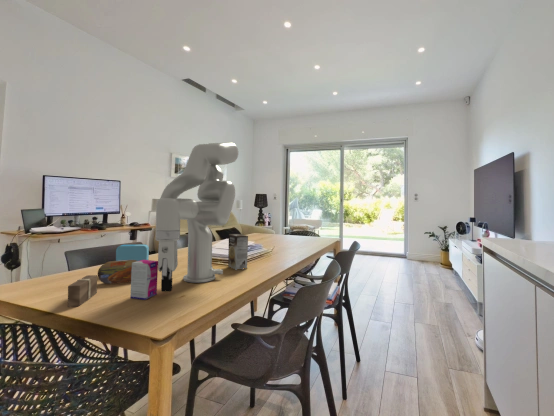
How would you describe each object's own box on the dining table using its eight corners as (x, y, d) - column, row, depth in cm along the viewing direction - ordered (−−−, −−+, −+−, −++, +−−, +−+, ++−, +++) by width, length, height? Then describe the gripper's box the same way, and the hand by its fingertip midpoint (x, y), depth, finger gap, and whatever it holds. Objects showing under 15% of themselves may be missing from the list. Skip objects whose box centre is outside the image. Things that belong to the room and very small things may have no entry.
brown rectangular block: (97, 293, 91) (97, 274, 91) (80, 306, 79) (80, 284, 79) (86, 293, 90) (86, 274, 90) (67, 306, 78) (67, 285, 78)
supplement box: (146, 300, 85) (146, 263, 85) (129, 298, 86) (130, 262, 86) (157, 294, 91) (158, 260, 91) (142, 292, 92) (142, 259, 92)
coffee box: (227, 266, 134) (228, 234, 134) (239, 265, 138) (240, 233, 138) (235, 270, 127) (236, 236, 127) (247, 269, 130) (248, 235, 130)
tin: (97, 285, 99) (97, 262, 99) (98, 283, 102) (98, 260, 102) (143, 281, 106) (143, 259, 106) (142, 279, 109) (143, 258, 109)
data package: (148, 270, 122) (148, 244, 122) (146, 273, 118) (146, 245, 118) (118, 271, 119) (119, 244, 119) (115, 274, 115) (116, 246, 115)
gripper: (177, 238, 84) (175, 297, 84) (182, 233, 98) (181, 283, 98) (150, 238, 82) (149, 298, 82) (160, 233, 96) (158, 284, 96)
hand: (166, 290), depth 90 cm, fingers closed
